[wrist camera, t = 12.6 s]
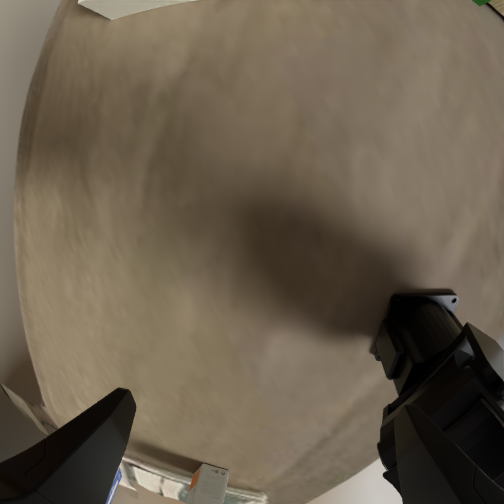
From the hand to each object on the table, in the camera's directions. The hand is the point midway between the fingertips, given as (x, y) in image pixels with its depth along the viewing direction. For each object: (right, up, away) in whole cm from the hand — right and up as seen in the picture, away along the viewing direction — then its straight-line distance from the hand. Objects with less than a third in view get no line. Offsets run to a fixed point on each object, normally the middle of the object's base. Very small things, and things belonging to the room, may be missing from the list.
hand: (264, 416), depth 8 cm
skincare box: (-7, -28, +27) cm, 39 cm away
